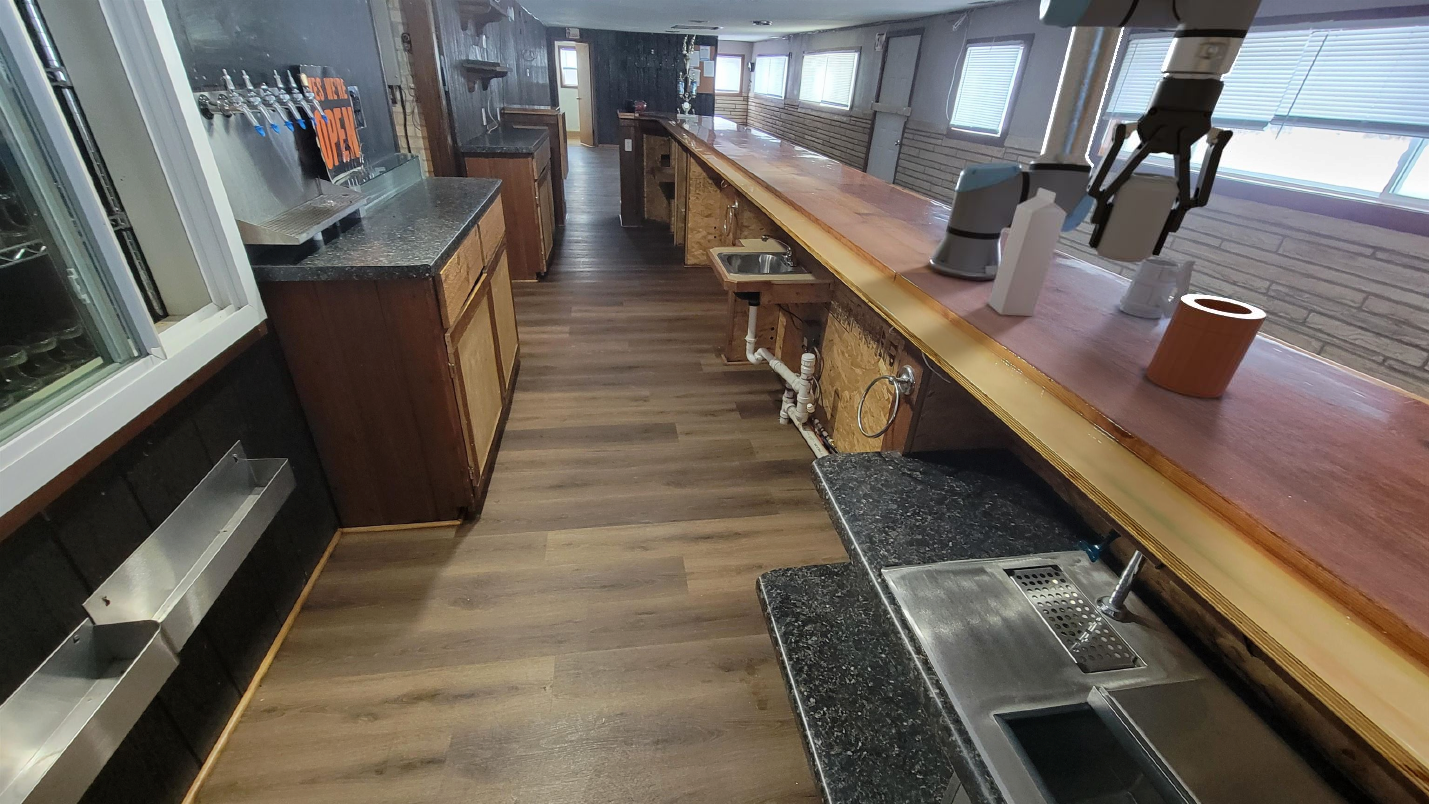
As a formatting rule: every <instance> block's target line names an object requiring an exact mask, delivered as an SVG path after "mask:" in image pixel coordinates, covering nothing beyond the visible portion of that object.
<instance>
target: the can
mask: <svg viewBox="0 0 1429 804" xmlns="http://www.w3.org/2000/svg"><path fill="white" fill-rule="evenodd" d="M1177 180H1178V178H1177V177H1175V175H1169V174H1164V173H1163V174H1162V173H1154V172H1143V171H1133V172H1132V174H1131V175H1130V176H1129V177H1128V178H1127V179H1126V181H1125V182H1124V183H1123V184H1122V185H1121V186H1120V188H1119V189H1118V190H1117V191H1116V192H1115V193H1114V195H1113V196H1112V199H1111V201H1110V202H1111V203H1112V204H1113V207H1112V209H1111V212H1110V214H1109V217H1108V220H1107V222H1106V225H1105V228H1104V230H1103V233H1102V235H1101V238H1100V241H1099V243H1098V246H1097V248H1094V249H1095V251H1096V252H1097V255H1098V256H1099V257H1101V258H1105V259H1107V260H1111V261H1115V262H1122V263H1132V264H1136V263H1140V262H1142V261H1143V260H1145V259H1147V258H1151V257H1152V256H1153V255H1152V252H1153V250H1154V248H1155V245H1156V243H1157V241H1158V238H1159V236H1160V234H1161V231H1162V229H1163V227H1164V225H1165V222H1166V220H1167V218H1168V215H1169V213H1170V211H1171V208H1172V207H1173V206H1174V205H1175V199H1176V197H1177V195H1178V192H1179V189H1178V186H1177V184H1176V181H1177Z"/></svg>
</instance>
